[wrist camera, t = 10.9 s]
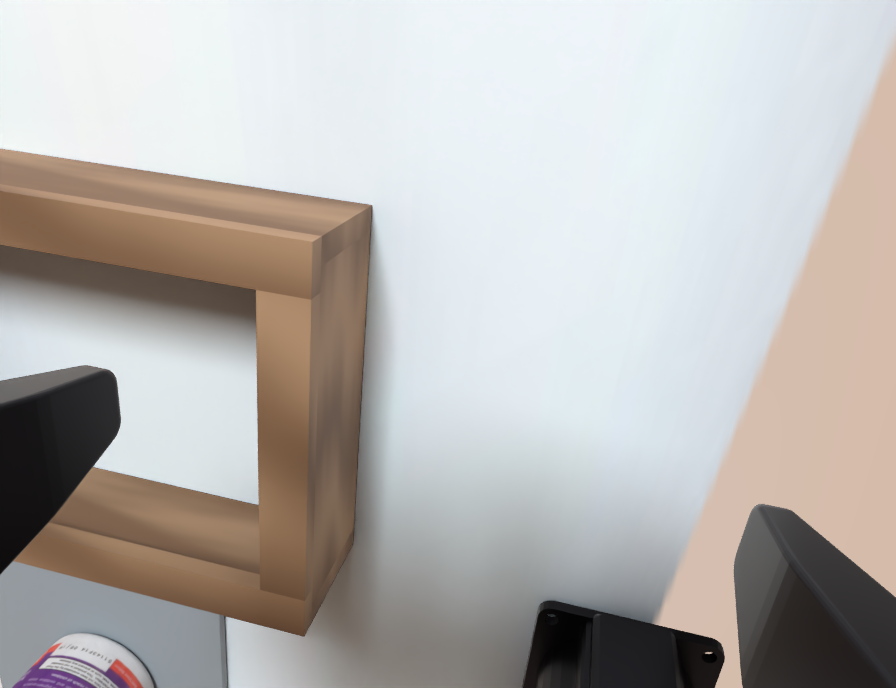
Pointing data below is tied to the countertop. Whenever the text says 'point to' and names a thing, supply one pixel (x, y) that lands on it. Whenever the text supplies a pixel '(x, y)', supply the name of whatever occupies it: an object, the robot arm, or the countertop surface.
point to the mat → (107, 627)
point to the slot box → (278, 384)
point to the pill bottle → (86, 665)
